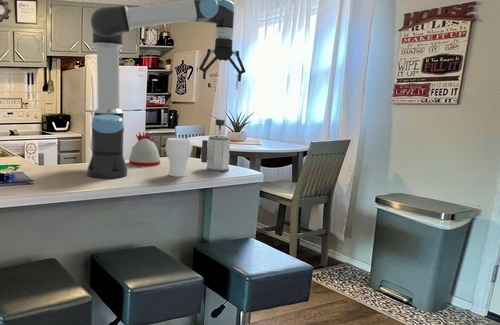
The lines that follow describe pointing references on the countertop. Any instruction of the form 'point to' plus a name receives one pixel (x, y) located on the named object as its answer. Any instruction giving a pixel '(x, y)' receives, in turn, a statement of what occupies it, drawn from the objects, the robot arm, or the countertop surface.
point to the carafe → (216, 153)
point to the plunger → (220, 123)
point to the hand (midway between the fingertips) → (221, 88)
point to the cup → (178, 155)
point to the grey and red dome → (144, 152)
